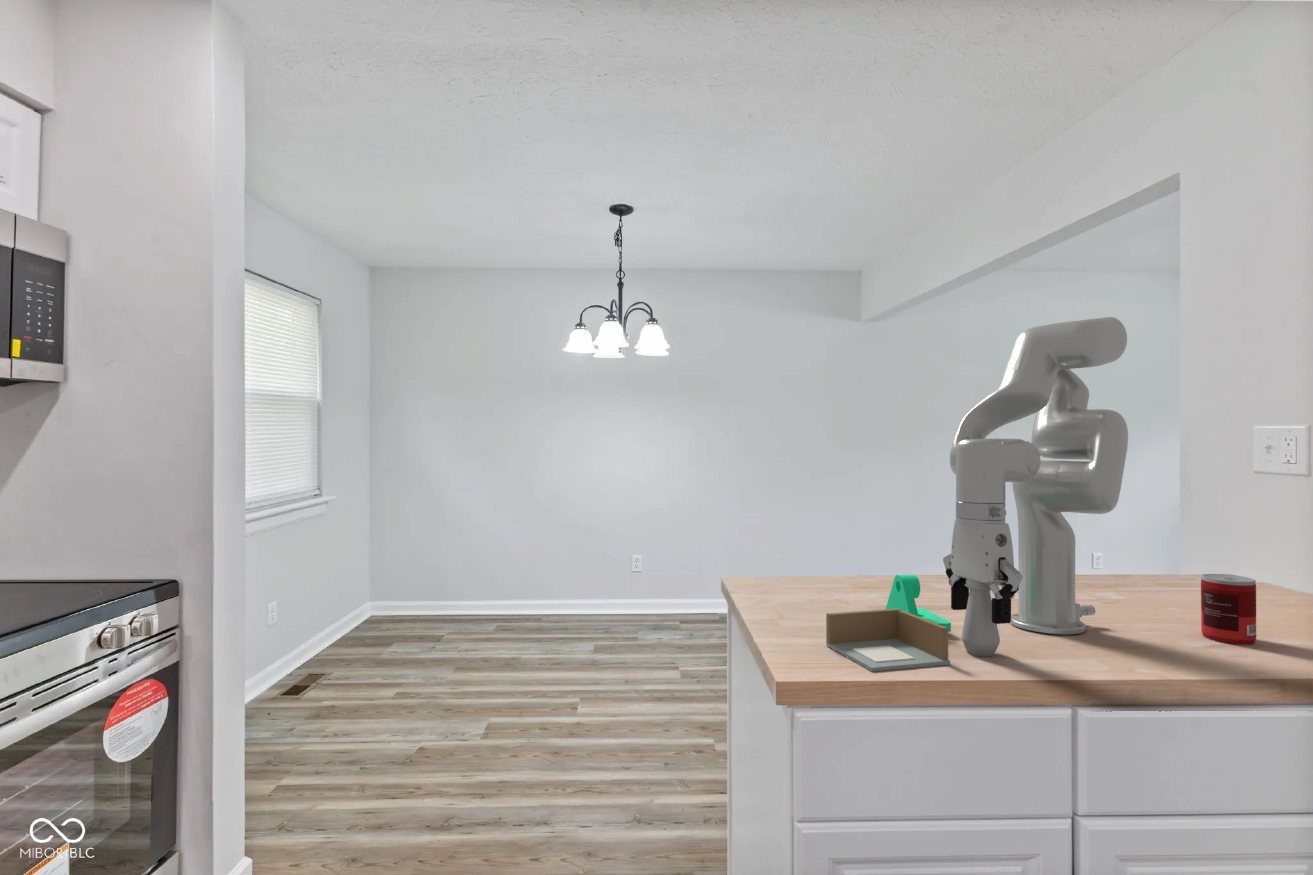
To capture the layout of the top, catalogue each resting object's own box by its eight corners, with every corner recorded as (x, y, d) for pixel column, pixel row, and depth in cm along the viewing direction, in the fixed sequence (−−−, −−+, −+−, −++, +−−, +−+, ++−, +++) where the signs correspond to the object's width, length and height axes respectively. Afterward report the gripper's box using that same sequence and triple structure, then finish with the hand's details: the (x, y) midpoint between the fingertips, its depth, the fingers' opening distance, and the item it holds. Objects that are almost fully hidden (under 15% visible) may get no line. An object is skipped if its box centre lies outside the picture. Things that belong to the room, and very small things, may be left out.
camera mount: (953, 637, 126) (953, 580, 126) (912, 638, 125) (912, 581, 125) (923, 621, 138) (923, 569, 138) (885, 621, 137) (885, 569, 137)
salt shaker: (997, 649, 118) (997, 572, 118) (1002, 659, 112) (1002, 578, 112) (960, 646, 120) (959, 570, 120) (963, 655, 114) (962, 576, 114)
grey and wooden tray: (897, 640, 123) (897, 608, 123) (950, 664, 110) (950, 628, 110) (826, 645, 120) (826, 613, 120) (871, 671, 106) (871, 634, 106)
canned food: (1247, 635, 127) (1247, 575, 127) (1263, 647, 119) (1263, 583, 120) (1195, 631, 130) (1195, 572, 130) (1208, 642, 123) (1208, 579, 123)
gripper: (1039, 517, 109) (1039, 627, 108) (964, 508, 125) (963, 603, 125) (999, 518, 107) (998, 630, 107) (927, 508, 124) (927, 605, 123)
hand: (979, 615), depth 116 cm, fingers open, 9 cm apart
